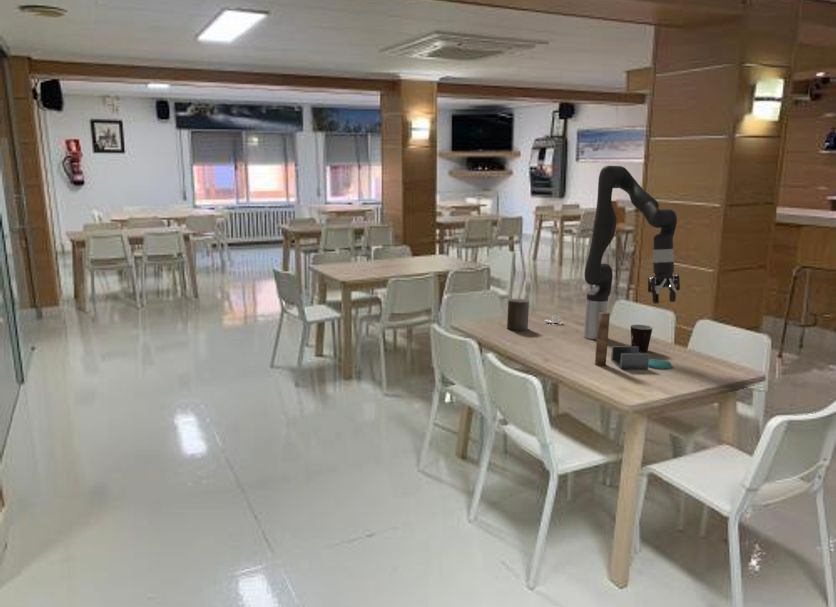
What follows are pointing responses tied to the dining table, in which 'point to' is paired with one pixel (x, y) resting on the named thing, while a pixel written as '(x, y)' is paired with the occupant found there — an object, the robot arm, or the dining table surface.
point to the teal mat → (659, 364)
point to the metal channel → (629, 358)
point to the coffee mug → (641, 336)
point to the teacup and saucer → (555, 320)
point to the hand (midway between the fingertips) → (664, 302)
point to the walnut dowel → (602, 339)
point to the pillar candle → (518, 314)
